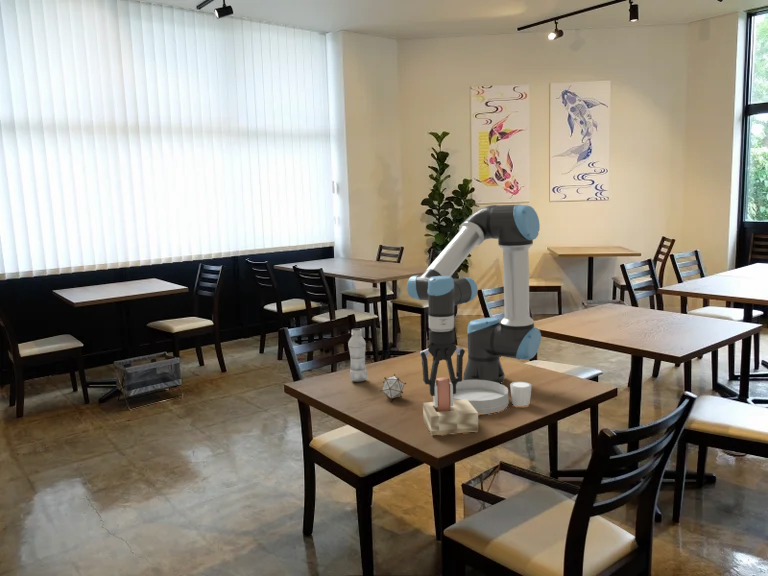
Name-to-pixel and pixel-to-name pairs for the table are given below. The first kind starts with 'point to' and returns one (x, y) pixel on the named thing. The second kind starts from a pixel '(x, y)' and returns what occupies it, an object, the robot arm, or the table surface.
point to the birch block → (451, 418)
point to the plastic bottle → (357, 356)
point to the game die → (392, 387)
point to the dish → (483, 395)
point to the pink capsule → (443, 394)
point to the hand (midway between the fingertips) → (443, 404)
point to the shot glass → (520, 393)
